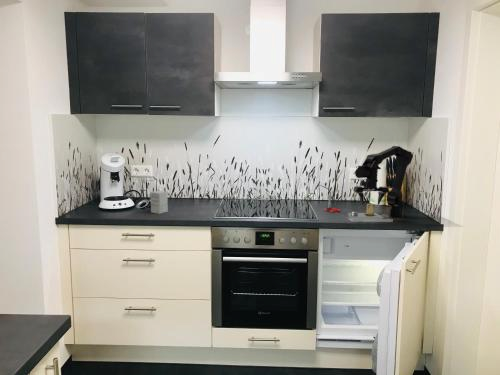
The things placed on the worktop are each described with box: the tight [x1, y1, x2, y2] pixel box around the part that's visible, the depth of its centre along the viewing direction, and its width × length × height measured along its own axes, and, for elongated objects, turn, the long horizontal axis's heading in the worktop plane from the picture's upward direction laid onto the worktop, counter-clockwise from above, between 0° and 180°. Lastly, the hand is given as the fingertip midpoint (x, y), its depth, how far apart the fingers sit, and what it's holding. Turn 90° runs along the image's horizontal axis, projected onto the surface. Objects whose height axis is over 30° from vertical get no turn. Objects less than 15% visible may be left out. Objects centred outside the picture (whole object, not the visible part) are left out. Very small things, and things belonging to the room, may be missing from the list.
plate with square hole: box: [347, 211, 394, 223], centre depth 232 cm, size 23×10×4 cm, turn 92°
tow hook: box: [324, 190, 341, 213], centre depth 255 cm, size 8×13×9 cm
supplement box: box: [150, 190, 169, 215], centre depth 246 cm, size 7×7×13 cm
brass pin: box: [365, 203, 375, 216], centre depth 231 cm, size 4×4×9 cm
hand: (370, 204), depth 231 cm, fingers open, 9 cm apart
